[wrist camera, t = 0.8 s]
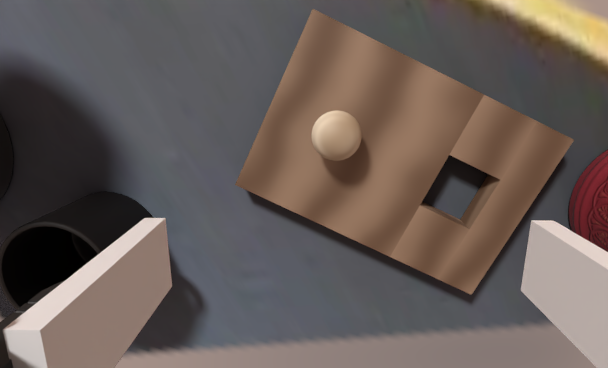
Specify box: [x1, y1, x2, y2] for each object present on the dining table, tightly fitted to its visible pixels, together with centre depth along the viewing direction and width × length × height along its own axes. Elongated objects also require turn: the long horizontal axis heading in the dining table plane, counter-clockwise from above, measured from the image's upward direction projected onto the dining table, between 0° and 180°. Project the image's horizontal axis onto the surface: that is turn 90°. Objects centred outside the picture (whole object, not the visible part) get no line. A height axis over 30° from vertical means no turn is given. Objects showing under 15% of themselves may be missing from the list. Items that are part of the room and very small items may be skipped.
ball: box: [311, 110, 362, 161], centre depth 31 cm, size 4×4×4 cm
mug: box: [0, 192, 152, 309], centre depth 35 cm, size 9×12×9 cm
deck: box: [235, 9, 574, 295], centre depth 35 cm, size 24×16×2 cm, turn 65°
